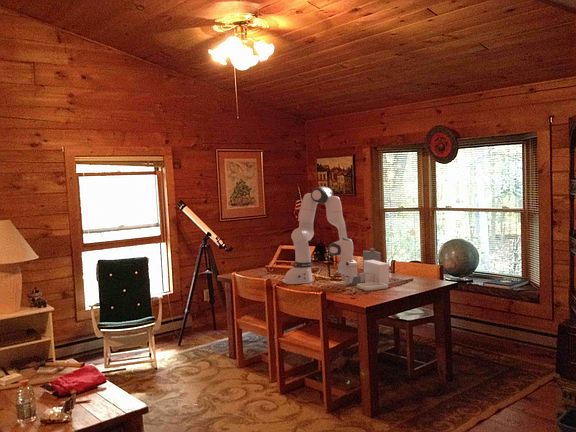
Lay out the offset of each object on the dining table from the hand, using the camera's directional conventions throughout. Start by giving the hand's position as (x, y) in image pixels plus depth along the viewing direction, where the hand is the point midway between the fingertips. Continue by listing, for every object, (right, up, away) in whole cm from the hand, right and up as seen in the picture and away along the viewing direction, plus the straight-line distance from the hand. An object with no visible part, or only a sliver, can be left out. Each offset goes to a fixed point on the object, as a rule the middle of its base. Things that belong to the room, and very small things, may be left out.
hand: (347, 281), depth 376 cm
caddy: (+3, -3, +2) cm, 5 cm away
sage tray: (+16, -3, -10) cm, 19 cm away
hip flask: (+23, +1, +37) cm, 43 cm away
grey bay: (+18, -2, +9) cm, 20 cm away
